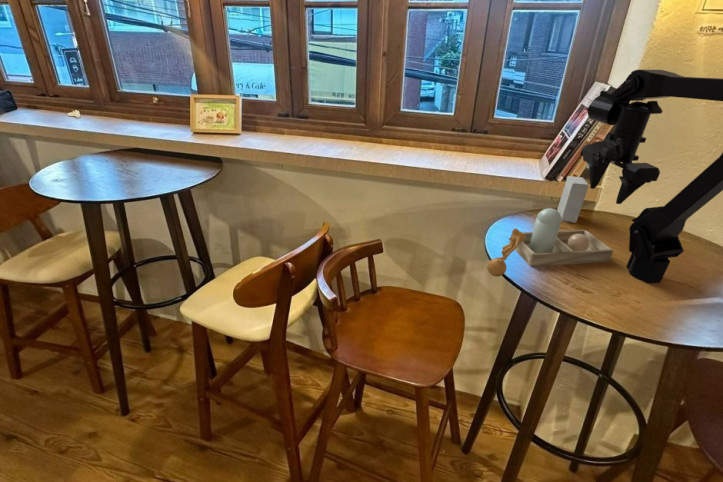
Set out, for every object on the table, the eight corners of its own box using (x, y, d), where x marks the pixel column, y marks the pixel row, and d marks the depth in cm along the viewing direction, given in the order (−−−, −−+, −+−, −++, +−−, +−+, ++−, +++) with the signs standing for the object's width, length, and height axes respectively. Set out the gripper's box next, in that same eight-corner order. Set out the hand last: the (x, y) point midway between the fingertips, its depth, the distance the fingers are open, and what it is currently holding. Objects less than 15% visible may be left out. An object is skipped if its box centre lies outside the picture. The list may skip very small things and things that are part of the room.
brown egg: (590, 255, 96) (596, 239, 94) (572, 256, 95) (578, 239, 93) (578, 246, 100) (583, 229, 98) (561, 247, 99) (566, 230, 97)
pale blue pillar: (553, 252, 97) (566, 208, 91) (547, 261, 93) (561, 216, 87) (531, 245, 99) (543, 202, 94) (524, 254, 96) (536, 209, 90)
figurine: (488, 263, 93) (499, 216, 87) (515, 269, 91) (528, 222, 85) (483, 282, 86) (494, 233, 80) (512, 289, 84) (526, 239, 78)
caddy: (607, 264, 95) (613, 250, 93) (529, 269, 92) (533, 254, 90) (580, 242, 103) (585, 229, 101) (508, 246, 100) (511, 233, 98)
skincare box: (576, 225, 112) (589, 185, 106) (559, 223, 113) (572, 183, 107) (570, 216, 117) (583, 177, 111) (555, 214, 118) (567, 175, 112)
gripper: (570, 120, 96) (552, 182, 104) (626, 143, 80) (600, 213, 88) (612, 120, 98) (591, 181, 106) (675, 142, 82) (645, 212, 90)
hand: (604, 195), depth 97 cm, fingers open, 9 cm apart
